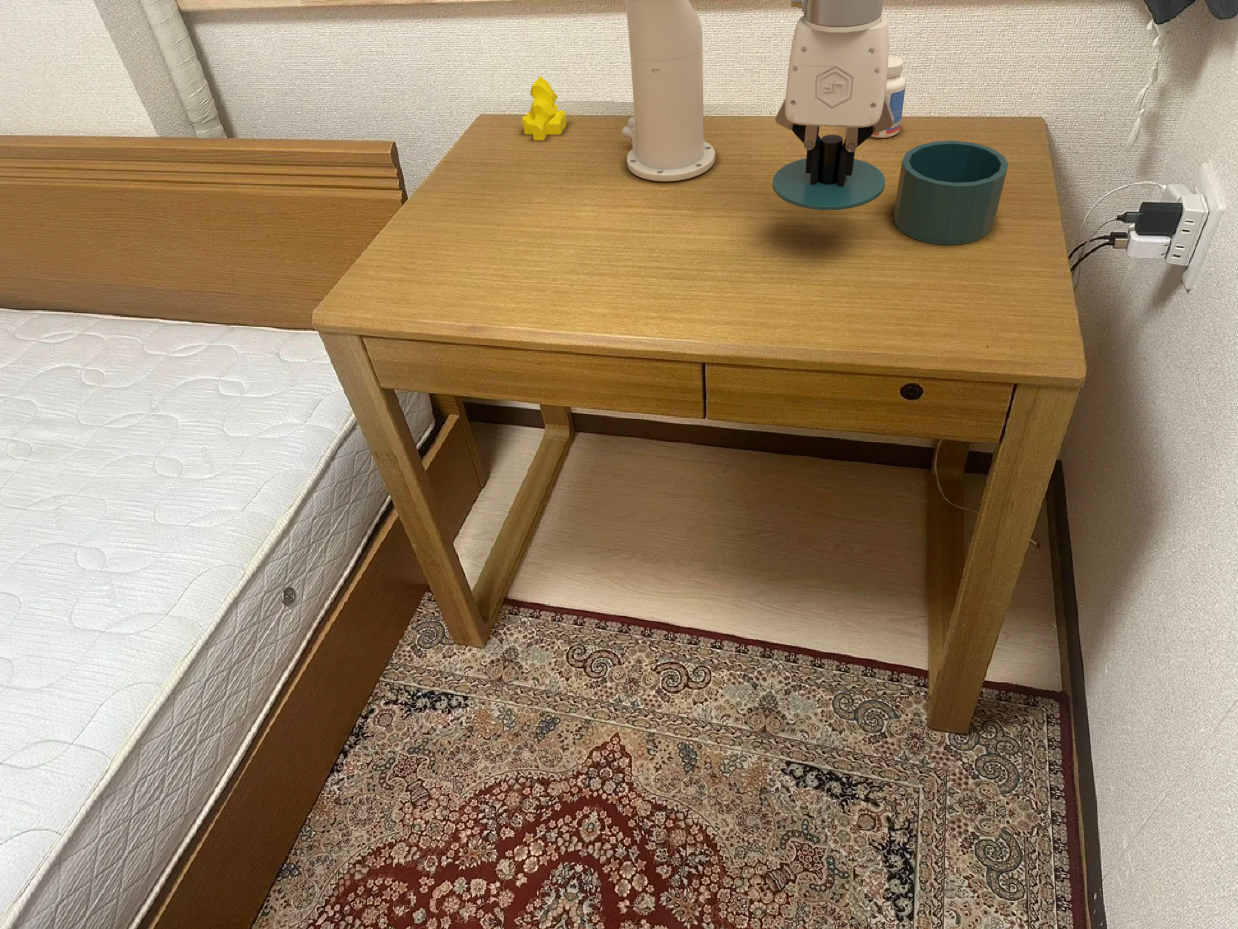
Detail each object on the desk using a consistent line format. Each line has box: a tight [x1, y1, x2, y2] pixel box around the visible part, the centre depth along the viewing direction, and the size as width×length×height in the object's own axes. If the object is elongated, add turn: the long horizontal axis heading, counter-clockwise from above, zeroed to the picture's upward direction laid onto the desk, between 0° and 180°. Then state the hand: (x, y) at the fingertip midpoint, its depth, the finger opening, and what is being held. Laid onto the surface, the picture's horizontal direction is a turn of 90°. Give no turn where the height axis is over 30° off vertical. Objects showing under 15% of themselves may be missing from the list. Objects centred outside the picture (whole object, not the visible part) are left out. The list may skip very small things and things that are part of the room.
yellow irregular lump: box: [521, 75, 567, 141], centre depth 132 cm, size 6×8×8 cm
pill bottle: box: [869, 55, 907, 139], centre depth 121 cm, size 6×5×10 cm
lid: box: [772, 134, 886, 211], centre depth 96 cm, size 13×13×6 cm
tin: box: [893, 140, 1009, 246], centre depth 102 cm, size 12×12×8 cm
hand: (828, 178), depth 98 cm, fingers closed on lid, 2 cm apart
